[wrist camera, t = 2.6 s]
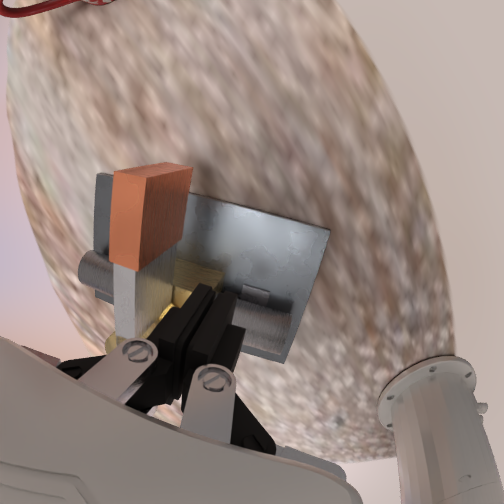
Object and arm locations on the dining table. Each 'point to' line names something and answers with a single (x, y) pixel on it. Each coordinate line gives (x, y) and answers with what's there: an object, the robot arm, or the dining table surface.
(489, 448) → the robot arm
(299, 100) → the dining table surface
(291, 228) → the valve
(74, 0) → the mug
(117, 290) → the lever
